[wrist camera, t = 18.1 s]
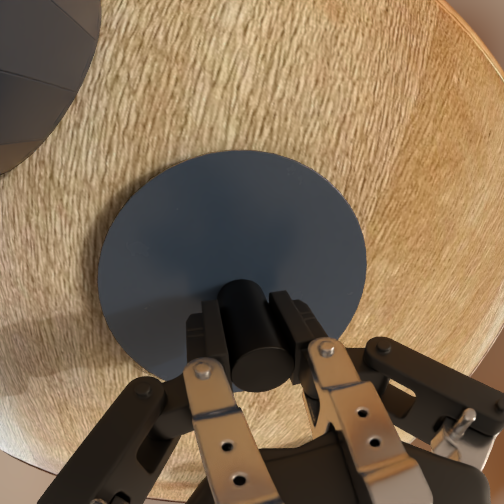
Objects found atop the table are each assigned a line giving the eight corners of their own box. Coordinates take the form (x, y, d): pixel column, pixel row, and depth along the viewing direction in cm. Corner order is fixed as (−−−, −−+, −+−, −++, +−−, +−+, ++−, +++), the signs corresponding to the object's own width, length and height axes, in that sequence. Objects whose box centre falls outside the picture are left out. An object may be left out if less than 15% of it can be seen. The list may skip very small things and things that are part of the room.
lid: (140, 389, 16) (135, 466, 11) (78, 169, 11) (7, 198, 5) (341, 358, 18) (380, 420, 13) (364, 148, 13) (452, 165, 8)
